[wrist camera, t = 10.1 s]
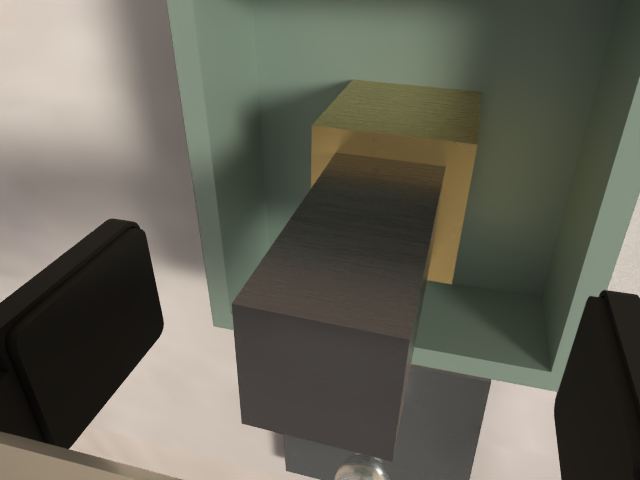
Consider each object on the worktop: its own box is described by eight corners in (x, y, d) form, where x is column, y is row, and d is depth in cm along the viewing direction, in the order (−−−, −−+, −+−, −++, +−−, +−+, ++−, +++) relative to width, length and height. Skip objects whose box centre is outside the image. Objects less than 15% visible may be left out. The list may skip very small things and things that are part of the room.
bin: (557, 304, 22) (571, 394, 18) (260, 258, 25) (213, 326, 21) (660, -61, 15) (722, -53, 11) (235, -61, 18) (158, -56, 14)
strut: (482, 91, 18) (462, 313, 8) (460, 208, 20) (425, 495, 10) (352, 79, 19) (189, 261, 9) (346, 192, 21) (212, 437, 11)
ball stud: (462, 498, 29) (456, 599, 25) (291, 456, 32) (258, 541, 27) (491, 366, 24) (489, 464, 20) (284, 328, 27) (242, 408, 22)
